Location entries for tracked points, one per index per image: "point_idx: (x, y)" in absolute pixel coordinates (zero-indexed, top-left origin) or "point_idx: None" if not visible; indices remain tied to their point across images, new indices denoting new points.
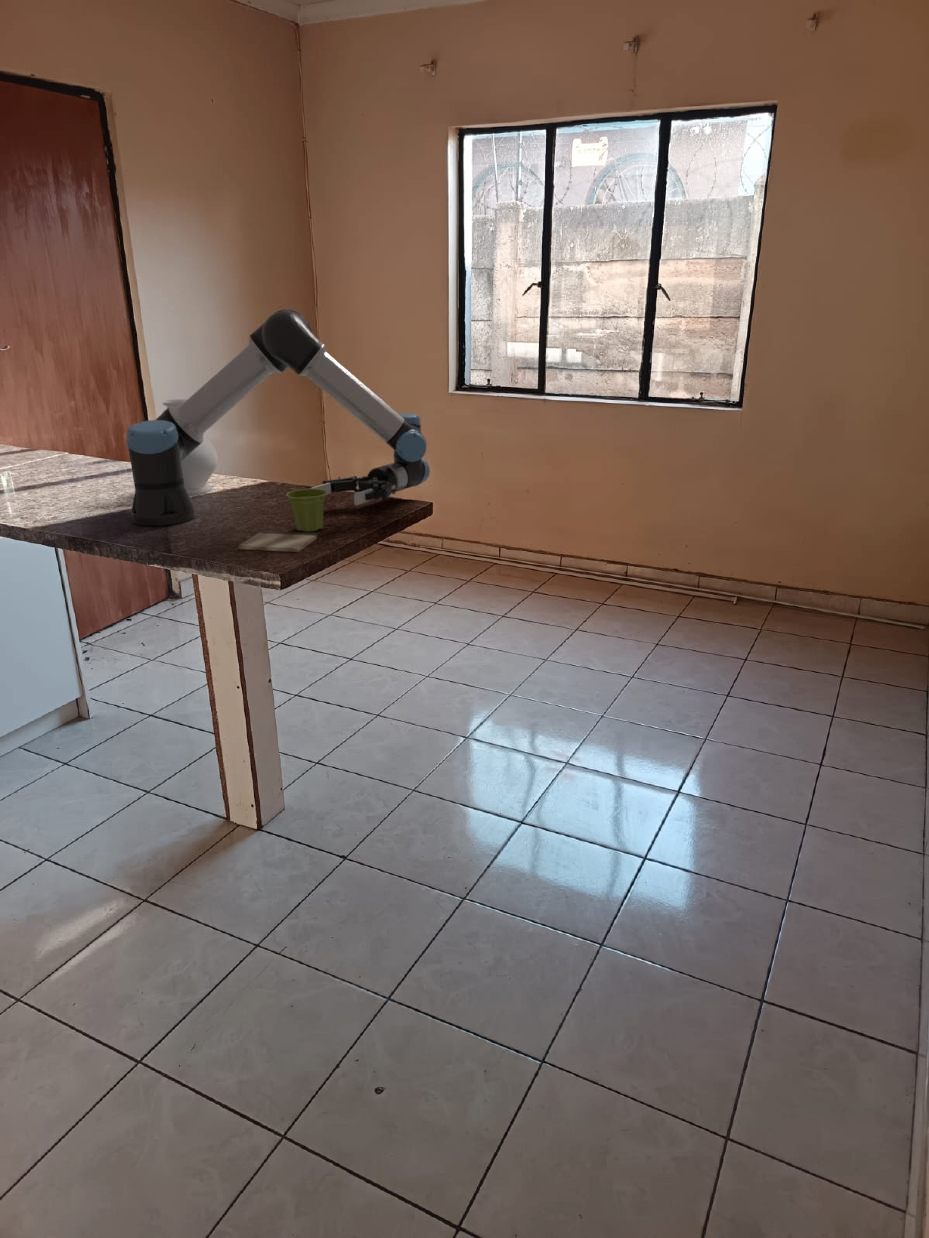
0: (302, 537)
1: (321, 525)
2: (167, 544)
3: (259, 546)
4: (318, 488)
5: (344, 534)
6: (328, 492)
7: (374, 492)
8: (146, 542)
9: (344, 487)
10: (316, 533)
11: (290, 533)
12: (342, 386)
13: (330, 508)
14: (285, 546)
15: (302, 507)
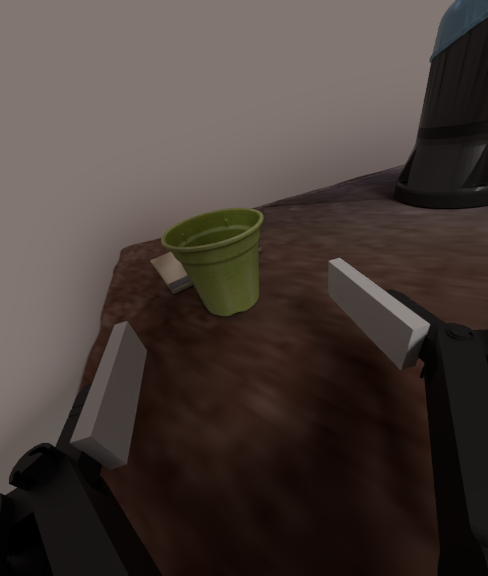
0: (180, 271)
1: (204, 304)
2: (299, 204)
3: None
4: (345, 281)
5: (140, 328)
6: (386, 347)
7: (61, 439)
8: (320, 196)
9: (440, 450)
10: (173, 286)
11: None
12: None
13: None
14: (171, 254)
15: (200, 241)
